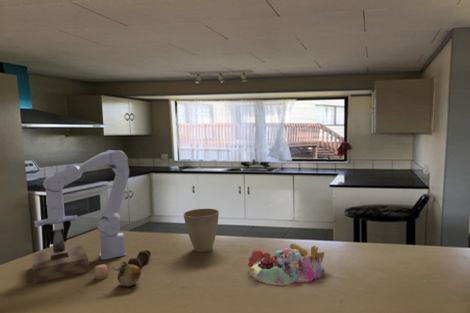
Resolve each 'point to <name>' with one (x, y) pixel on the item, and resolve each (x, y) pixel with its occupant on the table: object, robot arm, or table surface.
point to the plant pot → (202, 228)
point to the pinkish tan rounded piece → (101, 272)
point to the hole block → (59, 264)
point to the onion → (127, 274)
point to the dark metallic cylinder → (58, 240)
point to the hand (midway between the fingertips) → (58, 242)
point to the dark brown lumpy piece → (140, 259)
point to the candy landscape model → (286, 265)
